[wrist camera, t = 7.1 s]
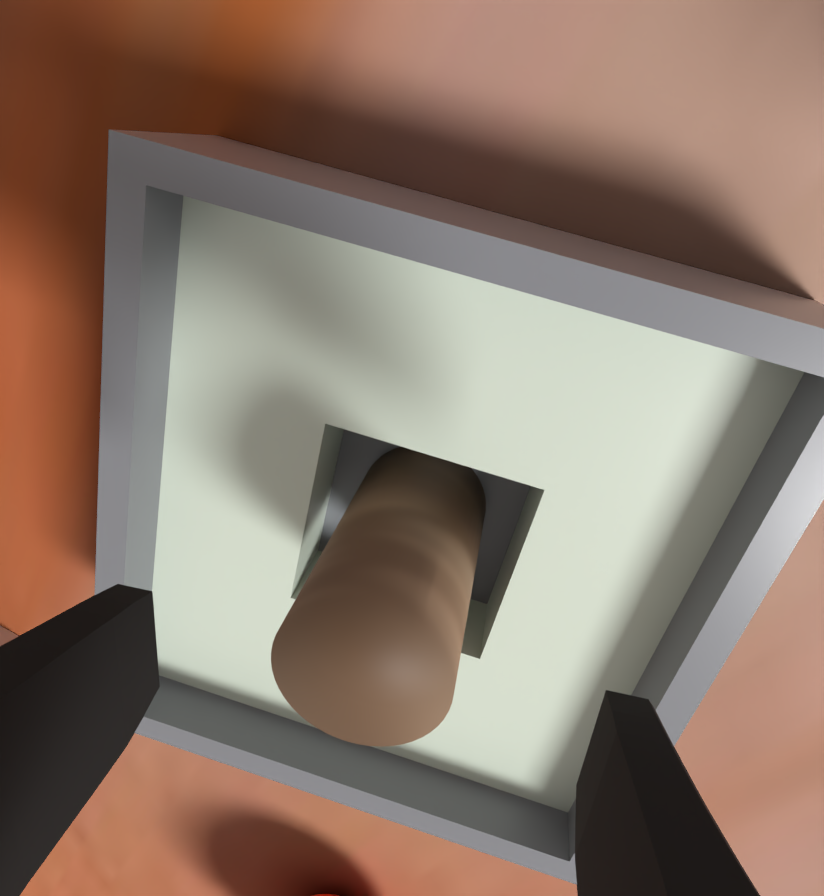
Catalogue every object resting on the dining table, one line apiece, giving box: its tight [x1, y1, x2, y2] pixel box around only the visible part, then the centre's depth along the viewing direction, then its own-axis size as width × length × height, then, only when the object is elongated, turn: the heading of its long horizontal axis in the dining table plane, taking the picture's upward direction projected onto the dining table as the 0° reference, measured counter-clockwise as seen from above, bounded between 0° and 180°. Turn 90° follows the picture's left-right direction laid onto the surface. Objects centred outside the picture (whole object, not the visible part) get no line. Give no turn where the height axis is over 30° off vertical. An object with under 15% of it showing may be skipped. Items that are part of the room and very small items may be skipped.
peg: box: [271, 447, 486, 747], centre depth 16 cm, size 4×4×7 cm
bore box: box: [95, 129, 824, 884], centre depth 17 cm, size 15×16×4 cm
